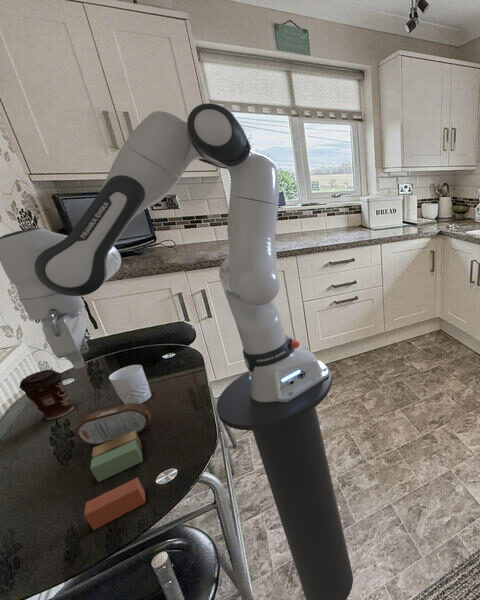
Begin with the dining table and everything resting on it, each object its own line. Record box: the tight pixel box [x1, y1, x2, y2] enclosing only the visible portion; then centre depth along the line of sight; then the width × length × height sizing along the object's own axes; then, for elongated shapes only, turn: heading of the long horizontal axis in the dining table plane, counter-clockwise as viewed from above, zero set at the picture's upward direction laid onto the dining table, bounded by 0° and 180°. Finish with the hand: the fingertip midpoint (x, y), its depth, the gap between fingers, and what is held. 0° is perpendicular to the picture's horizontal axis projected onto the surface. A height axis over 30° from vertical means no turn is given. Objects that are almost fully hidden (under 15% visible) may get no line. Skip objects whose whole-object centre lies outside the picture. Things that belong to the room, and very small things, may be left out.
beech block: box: [91, 431, 143, 459], centre depth 77 cm, size 8×4×4 cm, turn 129°
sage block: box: [89, 440, 143, 483], centre depth 74 cm, size 8×4×4 cm, turn 129°
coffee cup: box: [18, 369, 75, 420], centre depth 94 cm, size 9×8×13 cm
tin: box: [75, 403, 153, 445], centre depth 83 cm, size 15×3×8 cm, turn 113°
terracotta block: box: [83, 477, 146, 531], centre depth 64 cm, size 8×4×4 cm, turn 129°
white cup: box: [108, 364, 152, 405], centre depth 97 cm, size 8×8×10 cm
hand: (82, 359), depth 76 cm, fingers open, 8 cm apart
